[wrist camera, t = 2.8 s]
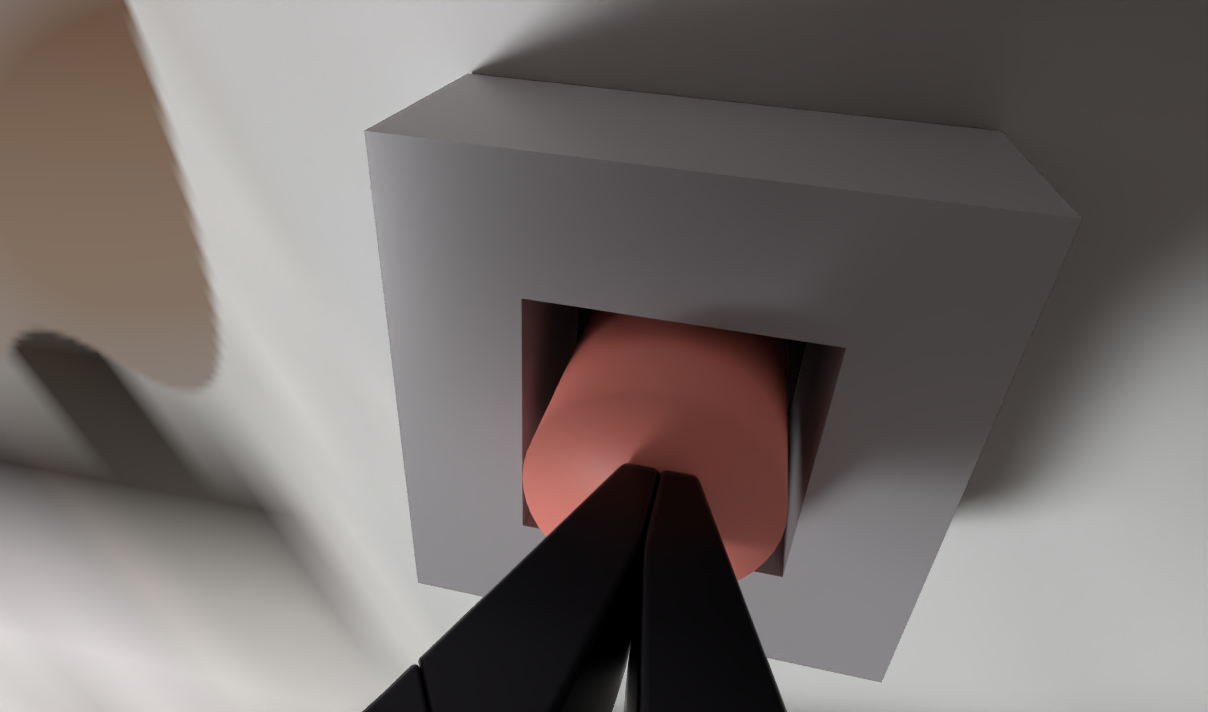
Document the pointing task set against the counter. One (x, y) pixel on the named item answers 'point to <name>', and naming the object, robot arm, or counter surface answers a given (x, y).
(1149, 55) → the counter surface
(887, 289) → the button collar
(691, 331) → the button
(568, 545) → the robot arm
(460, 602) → the counter surface
